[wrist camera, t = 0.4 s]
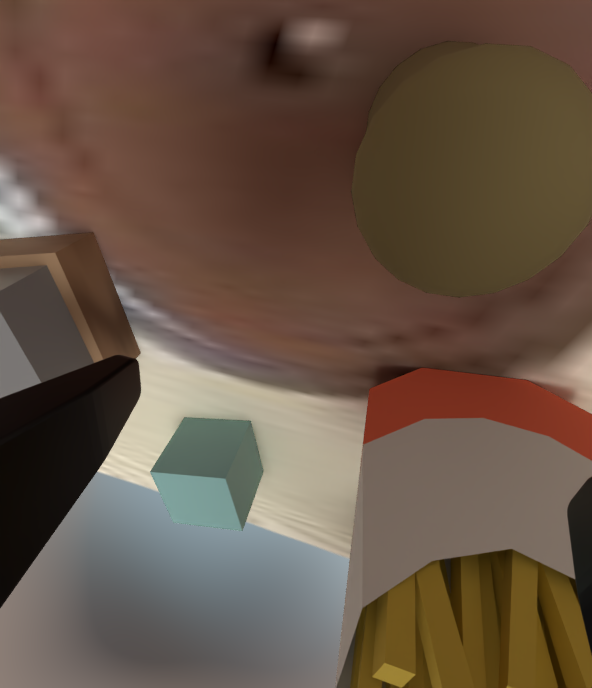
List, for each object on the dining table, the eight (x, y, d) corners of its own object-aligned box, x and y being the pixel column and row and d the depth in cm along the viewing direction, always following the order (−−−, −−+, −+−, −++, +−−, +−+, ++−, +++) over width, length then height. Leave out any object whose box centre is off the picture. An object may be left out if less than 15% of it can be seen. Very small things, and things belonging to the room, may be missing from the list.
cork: (337, 156, 18) (272, 242, 9) (430, 2, 15) (467, -93, 6) (447, 233, 19) (483, 380, 10) (560, 103, 16) (763, 151, 7)
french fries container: (373, 355, 24) (319, 830, 9) (586, 380, 22) (965, 1041, 7) (366, 416, 26) (314, 863, 11) (556, 443, 24) (788, 1026, 10)
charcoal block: (97, 369, 25) (56, 409, 22) (9, 369, 26) (-39, 406, 23) (46, 265, 21) (-9, 295, 18) (-50, 272, 23) (-115, 301, 20)
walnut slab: (143, 349, 28) (113, 382, 25) (44, 349, 30) (6, 379, 27) (97, 230, 24) (55, 252, 21) (-14, 238, 26) (-67, 260, 23)
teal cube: (263, 470, 31) (242, 531, 27) (202, 465, 33) (173, 522, 28) (251, 420, 29) (225, 478, 25) (184, 416, 30) (150, 471, 26)
